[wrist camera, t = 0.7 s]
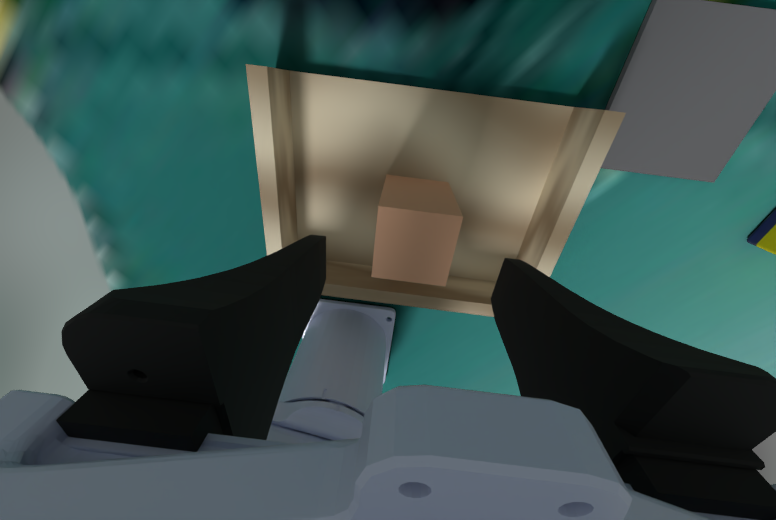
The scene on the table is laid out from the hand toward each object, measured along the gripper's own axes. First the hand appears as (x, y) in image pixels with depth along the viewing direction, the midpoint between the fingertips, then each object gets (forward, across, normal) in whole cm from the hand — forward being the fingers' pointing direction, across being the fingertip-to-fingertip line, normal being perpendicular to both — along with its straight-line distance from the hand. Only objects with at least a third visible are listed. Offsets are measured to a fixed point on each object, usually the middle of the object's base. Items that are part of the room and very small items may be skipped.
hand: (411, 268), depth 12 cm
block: (+9, 0, 0) cm, 9 cm away
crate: (+9, 0, 0) cm, 9 cm away
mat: (+9, -14, -7) cm, 19 cm away
